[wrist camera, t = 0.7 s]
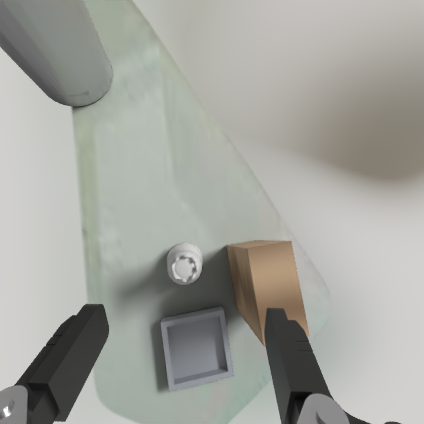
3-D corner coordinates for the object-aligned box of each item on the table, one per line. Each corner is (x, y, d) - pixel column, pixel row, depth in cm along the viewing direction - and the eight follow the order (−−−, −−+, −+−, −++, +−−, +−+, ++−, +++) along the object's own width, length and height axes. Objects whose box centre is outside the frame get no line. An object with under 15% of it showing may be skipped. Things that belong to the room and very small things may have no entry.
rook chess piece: (209, 266, 28) (218, 276, 21) (178, 285, 28) (175, 304, 20) (191, 235, 29) (193, 234, 21) (160, 254, 28) (150, 260, 20)
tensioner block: (226, 245, 29) (247, 248, 19) (256, 240, 30) (291, 240, 20) (238, 316, 28) (266, 358, 18) (268, 309, 29) (311, 347, 19)
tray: (161, 318, 27) (160, 322, 26) (221, 306, 28) (223, 309, 27) (170, 383, 26) (169, 392, 25) (231, 368, 27) (234, 376, 26)
